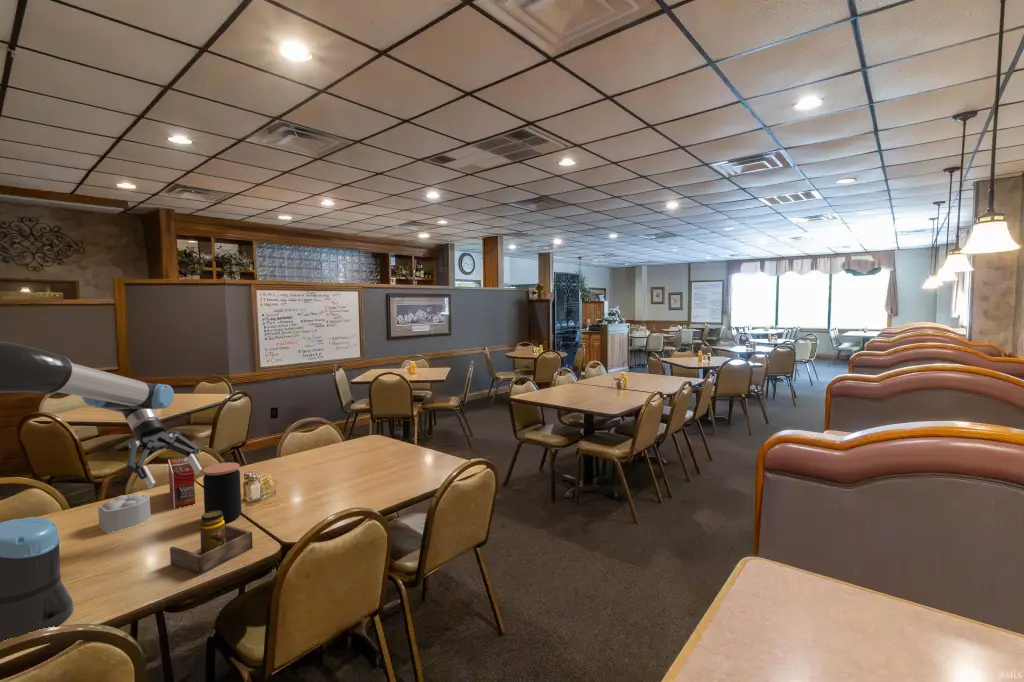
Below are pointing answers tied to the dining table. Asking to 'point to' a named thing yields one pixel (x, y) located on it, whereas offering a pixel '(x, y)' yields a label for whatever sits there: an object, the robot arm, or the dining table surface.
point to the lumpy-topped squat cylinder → (124, 512)
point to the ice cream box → (181, 482)
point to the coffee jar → (223, 490)
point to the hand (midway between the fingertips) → (176, 478)
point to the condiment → (211, 531)
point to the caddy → (213, 552)
